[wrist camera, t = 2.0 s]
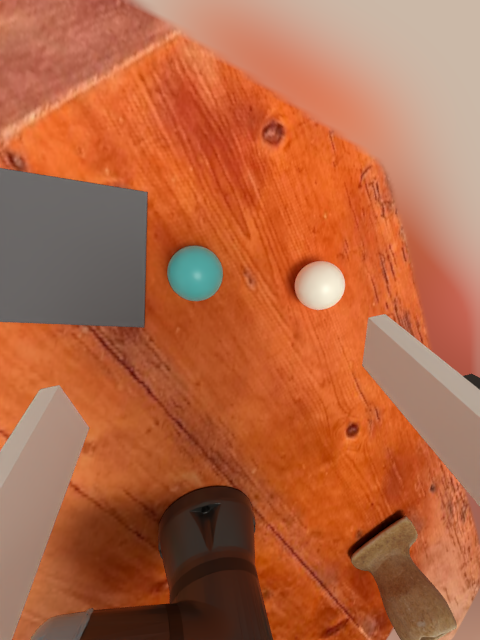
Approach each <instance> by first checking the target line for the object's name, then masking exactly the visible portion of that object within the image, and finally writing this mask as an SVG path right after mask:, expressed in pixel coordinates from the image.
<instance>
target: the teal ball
mask: <svg viewBox="0 0 480 640" xmlns="http://www.w3.org/2000/svg"><path fill="white" fill-rule="evenodd" d="M167 275H168V280H169V283H170V285H171V287H172V289H173V290H174V291H175V292H176V293H177V294H178V295H179V296H180V297H182V298H184V299H186V300H190V301H202V300H205V299H208V298H210V297H211V296H213V295H214V294H215V293H216V292H217V290H218V289H219V287H220V285H221V283H222V279H223V269H222V265H221V263H220V261H219V259H218V257H217V256H216V255H215V254H214V253H213V252H212V251H210V250H209V249H207V248H205V247H201V246H187V247H184V248H182V249H180V250H179V251H177V252H176V253H175V254H174V255H173V257H172V258H171V260H170V262H169V265H168V270H167Z"/></svg>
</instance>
